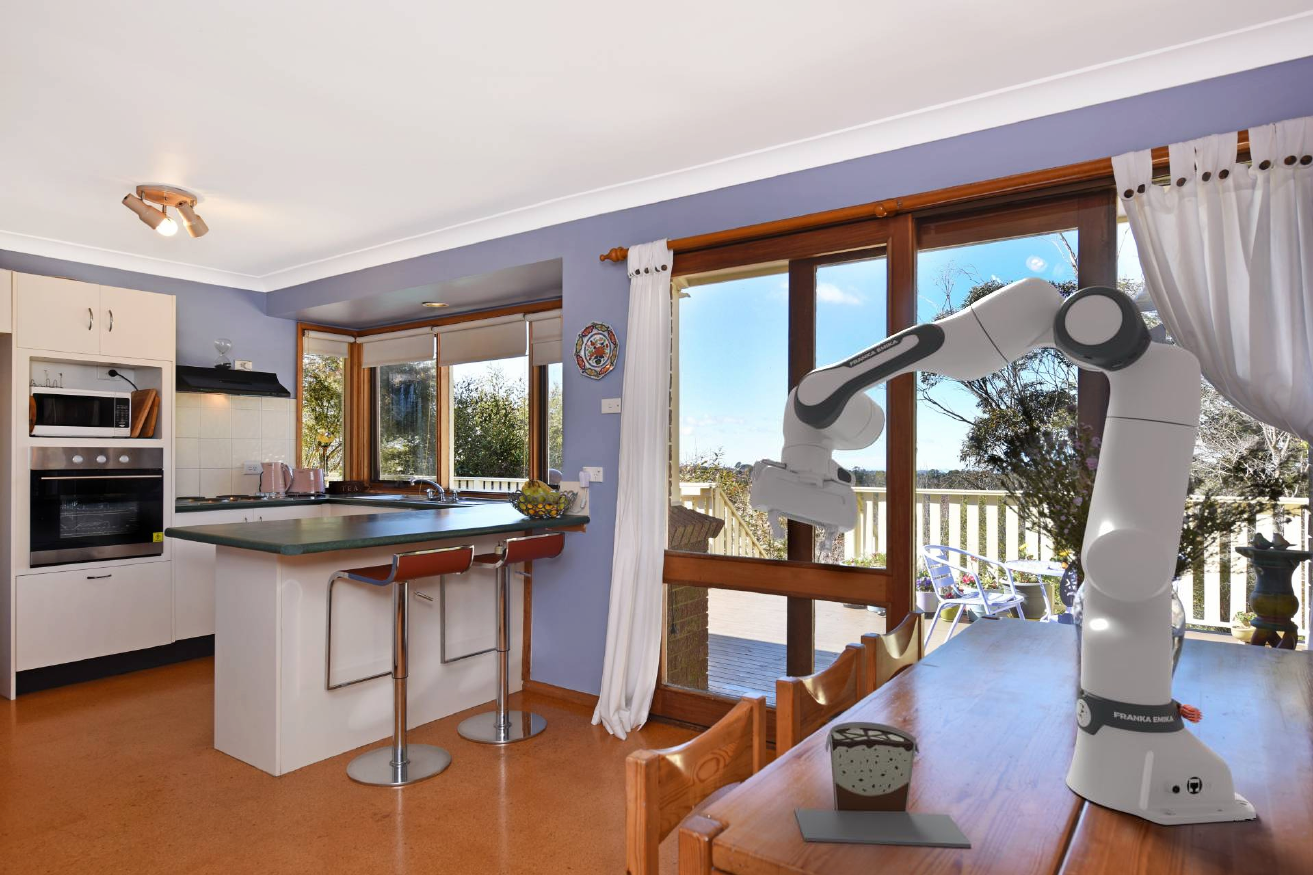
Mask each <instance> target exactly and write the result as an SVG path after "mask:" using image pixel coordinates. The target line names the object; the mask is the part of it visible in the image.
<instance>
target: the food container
mask: <svg viewBox="0 0 1313 875" xmlns="http://www.w3.org/2000/svg"><path fill="white" fill-rule="evenodd" d="M824 746H825V747H824V748H825V751H826V753H828V752H830V761H831V774H832V775H831V776H832V788H833V789H832V790H833V800H834V801H833V802H834V803H833V804H834V810H841V811H866V812H892V813H908V809H909V801H910V800H909V799H910V793H911V792H910V791H911V783H912V776H913V767H914V759H915V752H916V753H917V754H920V748H919V743H918V741H917V737H916V736H915V735H914V734H912V733H910V732H908V731H906V730H904V729H901V728H899V727H896V726H892V725H888V724H884V723H877V722H871V721H848V722H842V723H838V724H836V725H834V726H832V727H831V728H830V730H829V733H828V734H827V736H826V741H825V745H824ZM829 749H830V751H829Z"/></svg>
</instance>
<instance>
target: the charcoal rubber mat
mask: <svg viewBox="0 0 1313 875" xmlns="http://www.w3.org/2000/svg"><path fill="white" fill-rule="evenodd" d="M793 812H794V815H795V817H796V821H797V824H798V826H799V829H800V833H801V836H802V838H803V841H804V842H822V843H823V842H829V843H849V844H850V843H853V844H872V845H873V844H874V845H875V844H877V845H897V846H899V845H903V846H927V847H928V846H929V847H948V848H949V847H950V848H951V847H952V848H972V843H971V842H970V841H969V840H968V838H967V837H966V835H965V834H964V833H963V832H962V830H961V829H960V828H959V826H958V825H957V824H956V822H955V821H954V820H953V819H952V817H951V816H950V814H939V813H938V814H937V813H917V812H915V813H913V812H907V813H892V812H866V811H841V810H835V809H814V808H813V809H810V808H809V809H808V808H794V810H793Z"/></svg>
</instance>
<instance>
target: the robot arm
mask: <svg viewBox="0 0 1313 875" xmlns="http://www.w3.org/2000/svg"><path fill="white" fill-rule="evenodd" d="M1041 348H1052V349H1053V350H1055V351H1056V352H1058V353H1059V354H1060V355H1061V356H1063V357H1064V358H1066V360H1068V362H1070V363H1071V364H1072V365H1073V366H1075V367H1077V368H1079V369H1081V370H1083V371H1086V372H1088V373H1092V374H1105V375H1106V377H1107V378H1108V381H1109V386H1110V387H1109V388H1110V390H1109V392H1110V393H1109V401H1108V407H1107V410H1106V411H1107V412H1106V418H1105V422H1104V423H1105V424H1104V429H1103V435H1102V440H1101V441H1102V442H1101V444H1100V445H1101V446H1100V452H1099V458H1098V463H1097V469H1096V475H1095V480H1094V484H1093V485H1094V486H1093V490H1092V495H1091V500H1090V504H1089V511H1088V514H1087V516H1088V517H1087V521H1086V527H1085V530H1084V536H1083V542H1082V547H1081V553H1080V562H1081V563H1080V564H1081V568H1082V571H1083V573H1084V580H1083V581H1084V583H1083V584H1084V585H1083V600H1082V601H1083V605H1082V621H1081V622H1082V623H1081V651H1080V652H1081V656H1080V657H1081V658H1080V662H1081V663H1080V684H1079V685H1077V688H1076V689H1077V690H1076V723H1077V734H1076V740H1075V741H1076V742H1075V747H1074V752H1073V757H1072V760H1071V764H1070V768H1069V770H1068V772H1067V775H1066V778H1065V782H1066V784H1067V786H1068V787H1069V788H1070V789H1071V790H1072V791H1073V792H1075V793H1076V794H1077V795H1079V796H1081V797H1083V798H1085V799H1087V800H1088V801H1091V802H1094V803H1096V804H1098V805H1100V806H1103V807H1107V808H1109V809H1114V810H1116V811H1119V812H1124V813H1128V814H1131V815H1135V816H1137V817H1141V818H1143V819H1145V820H1148V821H1151V822H1153V823H1157V824H1160V825H1166V826H1170V825H1184V824H1187V825H1188V824H1199V823H1200V824H1201V823H1217V822H1218V823H1219V822H1233V821H1234V820H1235V821H1246V820H1245V819H1250V818H1256V819H1257V813H1256V810H1255V807H1254V806H1253V805H1252V803H1251V802H1249V801H1248V800H1247V799H1246V798H1245V797H1243V796H1242V795H1240V794H1239V793H1238V792H1236V791H1235V784H1234V779H1233V775H1232V772H1231V768H1230V767H1229V765H1228V764H1227V762H1226V761H1225V760H1224V759H1223V757H1221V756H1220V755H1219V754H1218V753H1217V752H1216V751H1214V750H1213V749H1212V748H1211V747H1210V746H1208V745H1207V744H1206V743H1204V742H1203V741H1202V740H1201V739H1200V738H1198V737H1197V736H1196V735H1195V734H1194V733H1192V732H1191V731H1190V730H1189V729H1187V728H1186V727H1185V726H1186V725H1185V723H1184V720H1183V719H1185V720H1187V721H1189V722H1191V723H1193V724H1197V723H1199V722H1201V720H1203V712H1202V711H1201V709H1199V708H1196V707H1193V706H1192V705H1190V704H1182V703H1181V702H1179V701H1177V700H1176V699H1174V698H1172V692H1173V691H1172V684H1173V683H1172V682H1173V681H1172V680H1173V679H1172V678H1173V601H1172V599H1173V598H1172V596H1173V594H1172V593H1173V592H1172V591H1173V588H1172V587H1173V586H1172V585H1173V579H1174V577H1175V574H1176V569H1177V563H1178V556H1179V550H1180V544H1181V537H1182V531H1183V522H1184V516H1185V511H1186V510H1185V509H1186V501H1187V493H1188V486H1189V481H1190V476H1191V470H1192V465H1193V464H1192V463H1193V458H1194V452H1195V446H1196V442H1197V441H1196V440H1197V435H1198V432H1199V431H1198V430H1199V423H1200V418H1201V409H1202V394H1203V391H1202V369H1201V363H1200V360H1199V359H1198V357H1197V356H1196V355H1195V354H1194V353H1192V352H1191V351H1189V350H1188V349H1185V348H1183V347H1181V346H1178V345H1175V344H1168V343H1159V342H1155V341H1153V340H1152V334H1151V332H1150V330H1149V328H1148V326H1147V324H1146V321H1145V320H1144V317H1143V315H1142V313H1141V310H1140V309H1139V307H1138V305H1137V304H1136V302H1135V301H1134V300H1133V299H1132V298H1131V297H1130V296H1129V295H1128V294H1127V293H1126V292H1123V291H1122V290H1120V289H1117V288H1114V287H1112V286H1105V285H1095V286H1094V285H1093V286H1089V287H1085V288H1084V287H1083V288H1082V289H1079V290H1078V291H1075V292H1074V293H1072V294H1070V295H1069V296H1068V297H1067V298H1066V297H1064V296H1063V295H1062V294H1061V292H1060V291H1059V290H1058V289H1057V288H1056V287H1055V286H1054V285H1053V284H1052V283H1051V282H1049V281H1047V280H1046V279H1043V278H1041V277H1037V276H1030V277H1025V278H1022V279H1020V280H1017V281H1013V283H1009V284H1008V285H1005V286H1003V287H1001V288H999V289H997V290H995V291H993V292H992V293H990V294H987V295H985V296H984V297H982V298H980V299H979V300H977V301H975V302H973V303H972V304H971V305H969V306H967V307H966V308H964V309H962V310H960V311H958V312H956V313H954V314H952V315H950V316H947V317H945V318H942V319H939V320H936V321H933V322H928V323H927V322H926V323H921V324H916V325H914V326H911V327H909V328H906V329H904V330H902V331H900V332H898V333H896V334H894V335H891V336H890V337H887V338H886V339H883V340H881V341H880V342H877V343H876V344H874V345H871V346H869V347H867V348H865V349H863V350H862V351H859V352H857V353H856V354H854V355H851V356H850V357H847V358H845V359H842V360H841V361H839V362H838V361H837V362H835V363H833V364H829V365H824V366H823V365H822V366H821V367H818V368H815V369H813V370H811V371H810V372H808V373H807V374H806V375H804V376H803V377H802V378H801V379H800V381H799V383H798V384H797V386H795V387H794V388H793V389H792V390H791V391H790V393H789V395H788V397H787V400H786V403H785V406H784V413H783V421H782V422H783V423H782V434H783V439H784V441H783V442H784V443H783V446H782V449H781V458H780V461H777V460H771V459H769V458H767V457H762V458H761V459H760V458H759V459H757V460H756V461H755V462H754V464H753V471H752V472H753V473H752V474H753V480H752V483H751V486H750V487H751V488H750V494H749V499H748V502H749V505H750V506H751V509H753V510H756V511H759V512H763V513H766V514H767V516H766V517H767V518H766V519H767V521H768V523H769V525H770V526H769V527H771V529H772V534H771V535H772V540H775V541H778V542H779V541H780V542H781V541H784V540H785V539H786V534H787V533H786V532H787V529H786V528H783V527H782V525H781V522H780V521H781V520H780V518H783V519H789V520H793V521H796V522H800V523H804V524H808V525H810V526H811V525H812V526H814V527H818V528H822V529H824V534H825V535H826V537H825V539H823V540H821V541H819V543H818V544H819V545H818V546H819V547H818V550H819V552H823V553H826V554H828V553H829V554H830V553H831V552H832V551H833V542H834V541H835V539H836V538H837V536H838V534H839V533H841V534H845V533H848V532H850V531H853V530H854V529H855V528H856V527H857V525H858V520H859V519H858V518H859V516H858V514H859V512H858V497H857V494H856V492H855V490H854V489H853V488H852V487H854V486H856V481H857V479H856V476H855V474H853V473H852V472H851V471H849V470H847V469H846V468H844V467H843V466H842V465H840V464H839V463H838V462H837V461H836V460H835V459H833V458H832V457H833V455H832V454H833V451H835V450H836V451H856V450H858V451H859V450H863V449H867V448H868V447H870V446H872V445H873V444H874V443H875V442H876V441H877V440H878V439H879V438H880V436H881V435H882V433H883V430H884V426H885V422H886V420H885V419H886V418H885V417H886V416H885V412H884V410H883V408H882V407H881V406H880V405H879V404H878V403H877V402H876V401H874V400H873V399H872V398H871V397H870V396H869V395H867V394H866V393H865V392H867V391H868V390H871V389H873V388H875V387H877V386H879V385H881V384H883V383H885V382H887V381H890V380H891V379H894V378H896V377H897V376H900V375H902V374H907V373H911V372H924V373H933V374H936V375H937V374H938V375H940V376H944V377H947V378H950V379H953V380H957V381H966V382H970V381H972V382H973V381H977V380H979V379H984V378H985V377H987V376H990V375H992V374H994V373H996V372H998V371H1000V370H1002V369H1003V368H1005V367H1007V366H1008V365H1010V364H1012V363H1013V362H1015V361H1017V360H1019V359H1020V358H1022V357H1023V356H1025V355H1027V354H1029V353H1031V352H1033V351H1035V350H1038V349H1041Z"/></svg>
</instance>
